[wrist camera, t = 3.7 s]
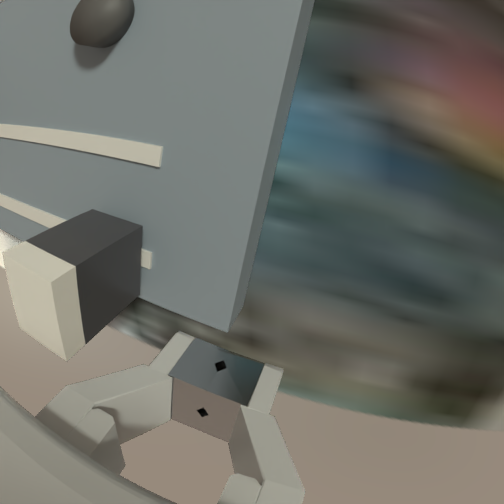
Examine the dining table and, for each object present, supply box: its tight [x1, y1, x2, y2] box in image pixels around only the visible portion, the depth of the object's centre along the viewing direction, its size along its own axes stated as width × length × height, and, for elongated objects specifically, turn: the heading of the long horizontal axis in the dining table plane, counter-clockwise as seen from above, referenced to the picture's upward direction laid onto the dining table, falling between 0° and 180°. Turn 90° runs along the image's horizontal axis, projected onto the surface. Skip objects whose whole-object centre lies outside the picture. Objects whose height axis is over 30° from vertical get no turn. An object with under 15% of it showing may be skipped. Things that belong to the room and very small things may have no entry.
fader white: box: [3, 209, 143, 362], centre depth 10 cm, size 2×3×4 cm
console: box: [0, 0, 315, 333], centre depth 11 cm, size 24×14×4 cm, turn 78°
